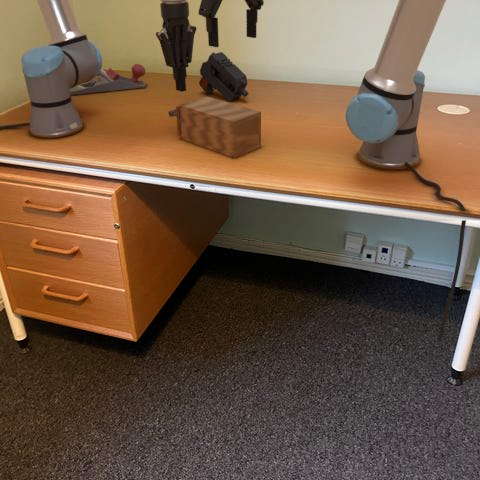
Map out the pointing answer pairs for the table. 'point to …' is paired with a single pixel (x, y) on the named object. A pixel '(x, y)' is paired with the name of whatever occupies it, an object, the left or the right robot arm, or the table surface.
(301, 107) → the table surface
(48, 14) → the left robot arm
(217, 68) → the tool
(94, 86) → the hand plane
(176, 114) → the drawer
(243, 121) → the wooden grain block
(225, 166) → the table surface
